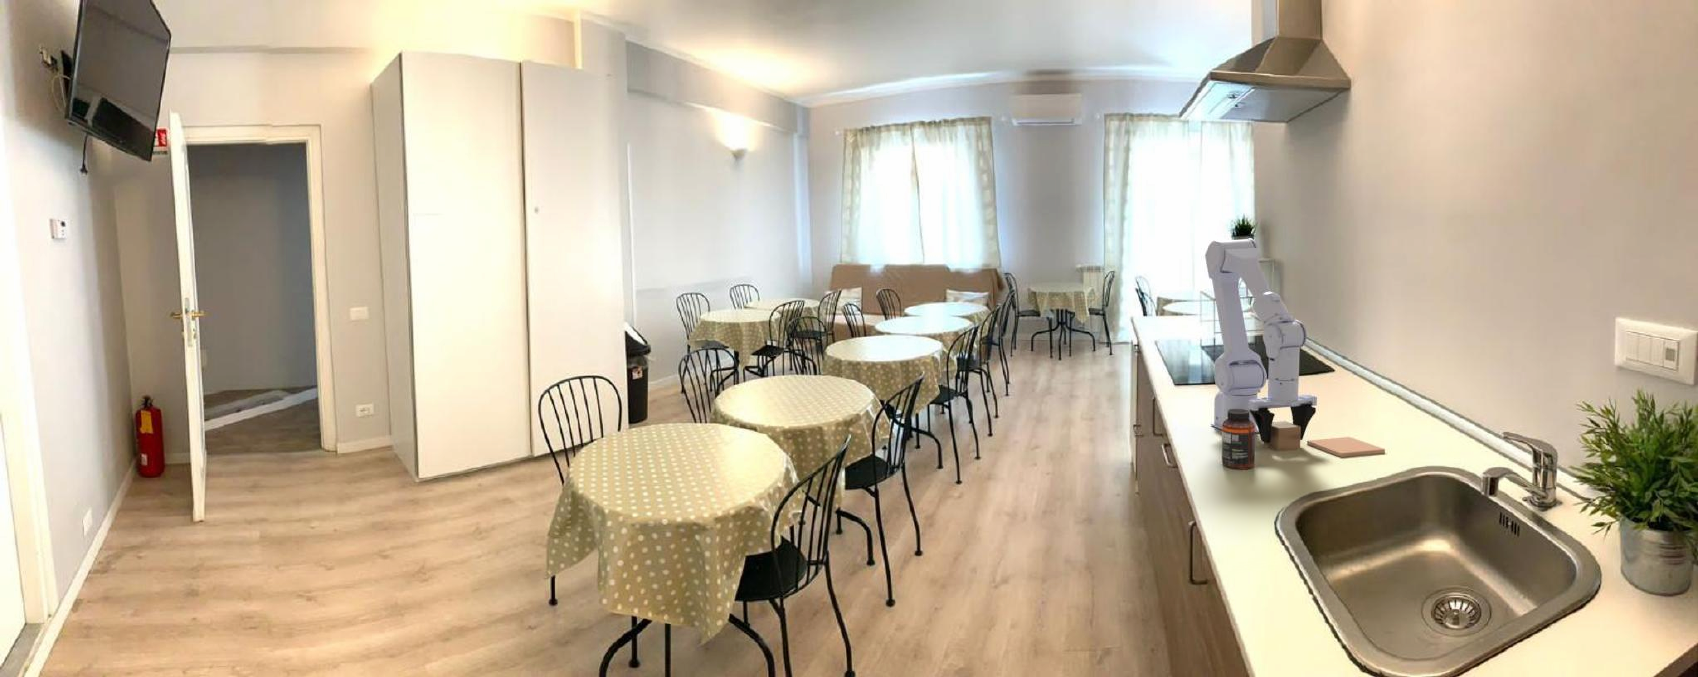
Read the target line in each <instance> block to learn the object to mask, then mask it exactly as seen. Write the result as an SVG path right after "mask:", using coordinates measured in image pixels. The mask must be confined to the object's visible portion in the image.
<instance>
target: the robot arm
mask: <svg viewBox="0 0 1698 677" xmlns="http://www.w3.org/2000/svg"><path fill="white" fill-rule="evenodd" d="M1204 256H1205V257H1204V258H1205V263H1206V268H1207V274H1208V278H1209V279H1210V280H1211V282H1212V283H1211V284H1212V288H1213V289H1212V290H1213V294H1214V299H1215V300H1214V301H1215V305H1216V311H1217V316H1218V321H1219V322H1218V323H1219V328H1220V333H1221V340H1222V344H1223V353H1222V354H1220V356H1219V357H1217V358H1216V360H1215V361H1214V365H1215V366H1214V382H1215V385H1216V387H1217V388H1218V390H1219V391H1218V392H1217V393H1216V394H1215V397H1214V409H1213V410H1214V412H1213V413H1214V414H1213V415H1214V416H1213V421H1214V422H1211V423H1210V425H1211V426H1212V427H1215V428H1217V429H1219V430H1222V424H1223V422H1224V421H1225V420H1227V419H1228V417H1227V415H1228V410H1230V409H1245V410H1248V411H1249V412H1250V413H1249V416H1250V417H1249V420H1250V421H1252V422H1253V423H1254V425H1255V434H1256V433H1259V437H1260V441H1261V442H1263V443H1264V442H1265V443H1270V440H1271V426H1272V422H1274V418H1275V413H1273V412H1271V410H1272V409H1279V408H1280V409H1281V408H1290V411H1291V418H1292V424H1295V425H1298V426H1301V435H1300V441H1303V439H1304V436H1305V432H1306V430H1307V427H1308V425H1309V423H1310V421H1311V420H1312V418H1313V416H1314V415H1315V414H1316V412H1317V409H1316V407H1315V406H1318V404H1317V403H1318V397H1317V396H1316V395H1313V394H1300V395H1299V380H1300V379H1299V377H1300V351H1301V349H1300V348H1303V346H1305V344H1306V342H1307V339H1308V337H1307V336H1308V335H1307V329H1306V327H1305V324H1304V323H1303V322H1302V321H1301V320H1298V319H1296V317H1294V316H1292V315H1291V314H1290V312H1289V310H1288V309H1287V307H1286V304H1285V303H1284V301H1283V299H1282V297H1281V296H1280V294H1278V292H1272V291H1271V289H1270V287H1269V284H1268V282H1267V279H1266V276H1265V274H1264V272H1263V270H1262V267H1261V265H1260V259H1261V250H1260V248H1259V245H1258V244H1257V242H1256V240H1254V238H1245V239H1229V240H1218V239H1217V240H1212V241H1211V242H1209V245H1208V246H1207V249H1206V251H1205V254H1204ZM1240 279H1241V280H1242V281H1243V283H1244V284H1245V286H1246V288H1247V289H1248V290H1249V292H1250V294H1251V295H1252V297H1253V298H1254V300H1253V303H1252V308H1253V310H1254V313H1255V314H1256V316H1257V318H1258V320H1259V322H1260V323H1261V325H1262V328H1263V329H1264V331H1263V332H1264V333H1263V334H1262V341H1263V343H1264V346H1265V354H1266V356H1267V357H1268V374H1267V370H1266V369H1265V367H1264V365H1263V362H1262V359H1261V358H1262V357H1261V356H1260V355H1259V353H1257V352H1255V351H1253V350H1252V349H1251V348H1250V347H1249V340H1248V335H1247V330H1246V324H1245V319H1244V313H1243V307H1242V302H1241V296H1240V291H1239V284H1238V283H1239V281H1240ZM1267 375H1268V376H1267ZM1267 379H1268V380H1267ZM1267 381H1268V383H1267ZM1266 383H1267V386H1268V387H1267V396H1264V397H1260V398H1258V393H1259V394H1260V393H1261V390H1262V389H1263V388H1264V387H1265V385H1266ZM1270 409H1271V410H1270Z"/></svg>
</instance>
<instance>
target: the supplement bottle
mask: <svg viewBox="0 0 1698 677" xmlns="http://www.w3.org/2000/svg"><path fill="white" fill-rule="evenodd" d="M1249 413H1250V412H1249V411H1248V410H1245V409H1230V410H1228V415H1227V417H1228V419H1227V420H1225V421H1224V422H1223V424H1222V429H1221V432H1222V433H1221V434H1222V435H1221V436H1222V437H1221V440H1222V441H1221V442H1222V444H1221V452H1222V453H1221V459H1222V460H1221V462H1222V465H1223V466H1224V467H1227V468H1230V469H1238V470H1247V469H1251V468H1253V467H1254V466H1255V455H1256V453H1255V451H1256V450H1255V449H1256V448H1255V440H1256V439H1255V438H1256V437H1255V436H1256V433H1255V425H1254V423H1253V422H1252V421H1250V420H1249V417H1250V416H1249Z"/></svg>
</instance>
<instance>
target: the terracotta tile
mask: <svg viewBox="0 0 1698 677" xmlns="http://www.w3.org/2000/svg"><path fill="white" fill-rule="evenodd" d="M1306 442H1307V443H1306V445H1308V446H1309V447H1310V446H1311V447H1313V448H1316V449H1318V450H1321V451H1324V452H1326V453H1329V454H1331V455H1335V456H1336V457H1339V458H1344V457H1345V458H1346V457H1347V458H1348V457H1355V456H1365V455H1375V454H1376V455H1377V454H1384V453H1386V449H1385V448H1383V447H1380V446H1377V445H1374V444H1372V443H1368V442H1365V441H1363V440H1360V439H1357V438H1354V437H1350V436H1344V437H1333V438H1323V439H1312V440H1310V439H1309V440H1307V441H1306Z"/></svg>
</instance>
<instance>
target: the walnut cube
mask: <svg viewBox="0 0 1698 677" xmlns="http://www.w3.org/2000/svg"><path fill="white" fill-rule="evenodd" d="M1300 435H1301V426H1298V425H1295V424H1293V422H1289V421H1286V420H1280V421H1273V422H1272V426H1271V440H1270V443H1265V442H1263V446H1265V447H1267V448H1270V449H1272V448H1273V449H1272V450H1275V451H1278V452H1282V451H1294V450H1301V440H1300Z"/></svg>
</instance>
